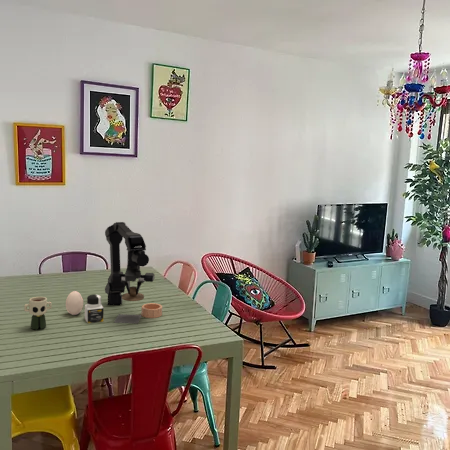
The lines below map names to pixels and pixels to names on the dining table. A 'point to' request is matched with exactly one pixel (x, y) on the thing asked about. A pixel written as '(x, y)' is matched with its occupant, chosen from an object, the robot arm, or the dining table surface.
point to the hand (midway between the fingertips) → (133, 294)
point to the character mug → (38, 311)
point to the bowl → (151, 310)
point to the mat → (127, 318)
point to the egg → (74, 303)
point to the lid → (132, 295)
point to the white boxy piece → (94, 309)
